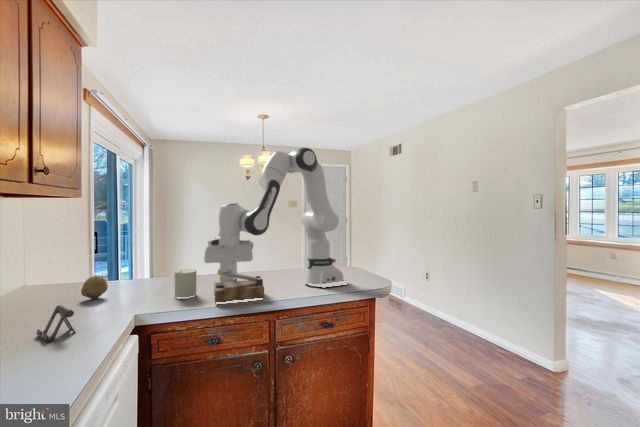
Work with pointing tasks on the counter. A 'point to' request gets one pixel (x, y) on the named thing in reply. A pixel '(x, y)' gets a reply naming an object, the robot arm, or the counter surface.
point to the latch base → (238, 290)
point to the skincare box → (234, 270)
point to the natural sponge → (94, 287)
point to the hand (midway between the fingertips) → (228, 272)
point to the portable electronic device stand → (64, 314)
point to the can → (185, 282)
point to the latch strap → (237, 275)
